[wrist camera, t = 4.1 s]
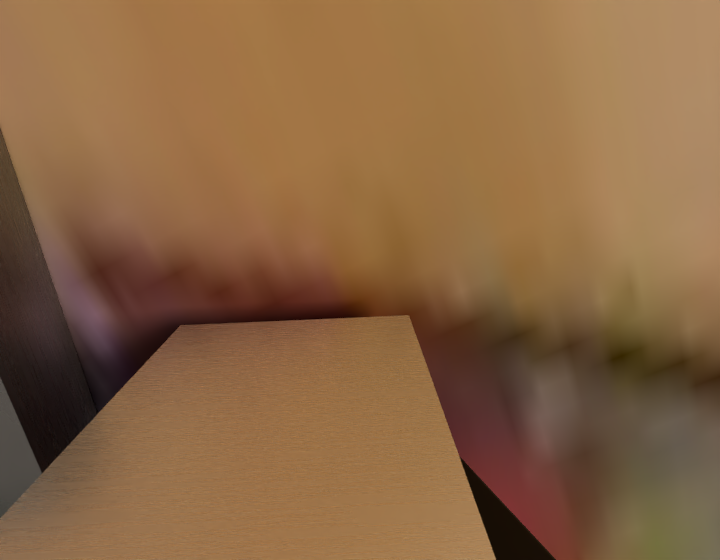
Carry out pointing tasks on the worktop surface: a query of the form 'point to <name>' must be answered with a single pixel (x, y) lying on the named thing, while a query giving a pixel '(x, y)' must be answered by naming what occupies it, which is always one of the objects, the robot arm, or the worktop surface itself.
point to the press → (32, 353)
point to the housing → (261, 455)
